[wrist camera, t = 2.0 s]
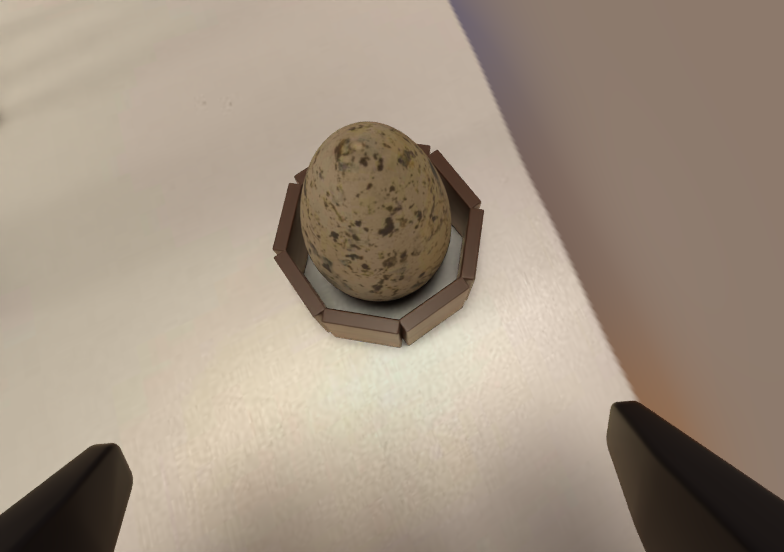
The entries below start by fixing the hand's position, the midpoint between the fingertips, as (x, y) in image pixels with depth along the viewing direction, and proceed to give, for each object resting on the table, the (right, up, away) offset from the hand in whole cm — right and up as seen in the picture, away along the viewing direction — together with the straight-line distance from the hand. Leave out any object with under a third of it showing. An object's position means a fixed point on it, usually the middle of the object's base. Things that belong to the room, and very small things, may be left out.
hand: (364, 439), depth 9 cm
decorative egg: (0, +4, +15) cm, 16 cm away
